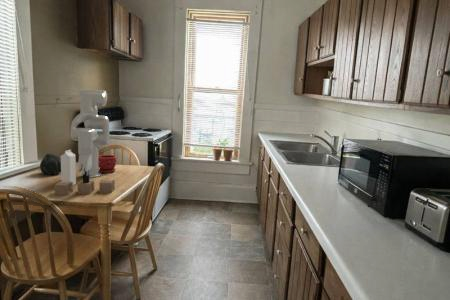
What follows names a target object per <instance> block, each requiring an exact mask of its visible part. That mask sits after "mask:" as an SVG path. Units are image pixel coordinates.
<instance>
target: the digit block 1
mask: <svg viewBox="0 0 450 300" xmlns="http://www.w3.org/2000/svg"><path fill="white" fill-rule="evenodd" d="M73 192H74V185H73V182H61V181H59V182H57V183H55V184H54V195H55V196H69V195H71V193H73Z"/></svg>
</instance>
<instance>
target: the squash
mask: <svg viewBox="0 0 450 300" xmlns="http://www.w3.org/2000/svg"><path fill="white" fill-rule="evenodd" d="M39 164H40V165H39V170H40V172H42V174H43V175H49V176H53V175H58V174H61V157H59V156H57V155H54V154H51V153H46V154H45V155H44V157H43V158H42V160H41V161H40V163H39Z"/></svg>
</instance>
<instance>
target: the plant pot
mask: <svg viewBox="0 0 450 300" xmlns="http://www.w3.org/2000/svg"><path fill="white" fill-rule="evenodd" d="M116 164H117V156H116V155H114V154H113V155H111V154H106V155H105V154H104V155H99V173H101V174H109V173H114V172H116Z"/></svg>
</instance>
